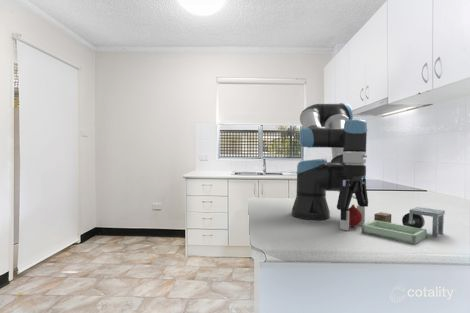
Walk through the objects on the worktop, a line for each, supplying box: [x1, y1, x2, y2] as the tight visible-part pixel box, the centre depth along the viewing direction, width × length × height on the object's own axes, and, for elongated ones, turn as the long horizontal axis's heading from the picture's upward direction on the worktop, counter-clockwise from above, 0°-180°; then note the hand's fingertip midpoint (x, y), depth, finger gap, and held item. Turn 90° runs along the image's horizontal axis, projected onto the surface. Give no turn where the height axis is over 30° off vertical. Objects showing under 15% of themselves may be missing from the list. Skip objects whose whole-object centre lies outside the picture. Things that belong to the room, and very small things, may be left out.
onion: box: [348, 203, 362, 228], centre depth 103 cm, size 6×6×8 cm
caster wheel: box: [401, 206, 446, 238], centre depth 99 cm, size 11×8×8 cm
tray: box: [361, 220, 428, 245], centre depth 94 cm, size 16×11×2 cm
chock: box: [373, 211, 392, 223], centre depth 108 cm, size 4×5×4 cm
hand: (352, 226), depth 103 cm, fingers open, 11 cm apart
